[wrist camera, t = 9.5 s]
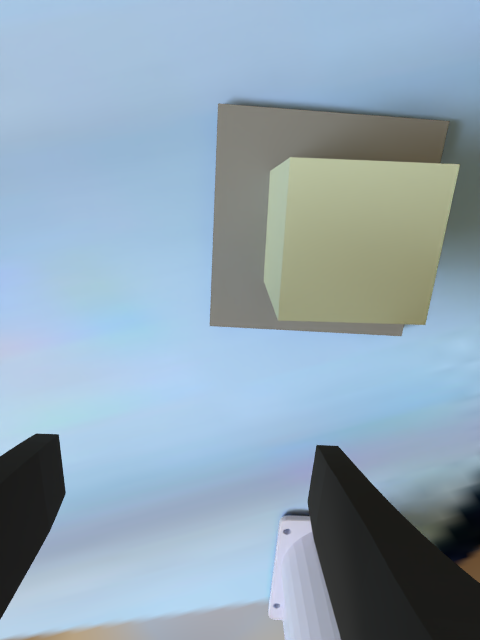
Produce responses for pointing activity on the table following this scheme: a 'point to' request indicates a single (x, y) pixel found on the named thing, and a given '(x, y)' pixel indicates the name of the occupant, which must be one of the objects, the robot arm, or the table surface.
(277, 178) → the block
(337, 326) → the coaster
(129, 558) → the table surface
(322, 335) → the table surface
